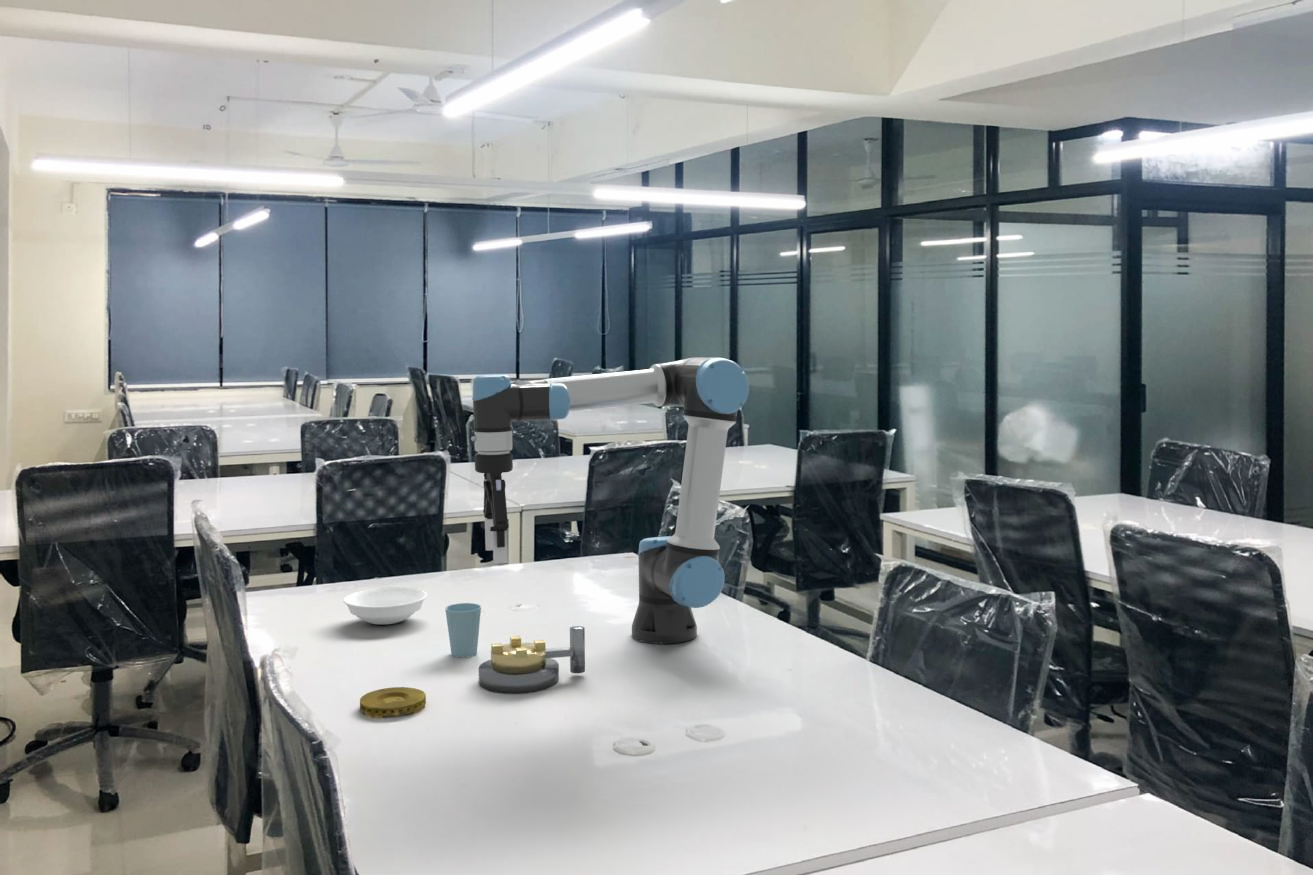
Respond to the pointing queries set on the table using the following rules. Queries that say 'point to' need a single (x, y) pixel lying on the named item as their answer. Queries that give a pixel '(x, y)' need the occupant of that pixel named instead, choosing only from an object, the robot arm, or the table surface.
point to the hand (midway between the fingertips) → (496, 556)
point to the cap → (518, 679)
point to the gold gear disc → (392, 702)
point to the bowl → (385, 604)
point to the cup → (463, 628)
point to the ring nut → (537, 654)
